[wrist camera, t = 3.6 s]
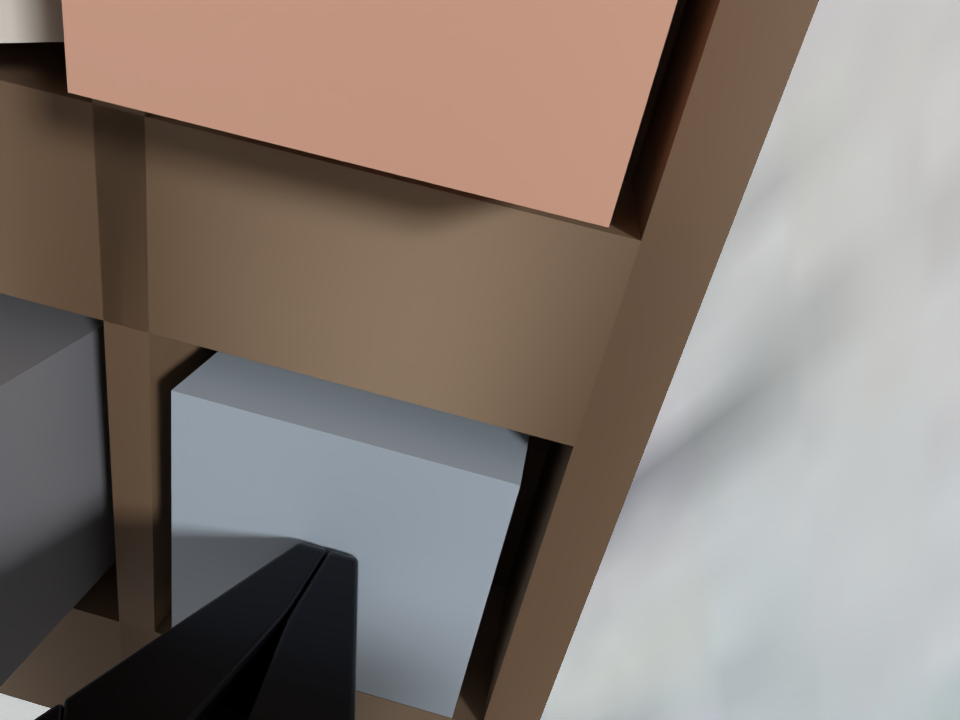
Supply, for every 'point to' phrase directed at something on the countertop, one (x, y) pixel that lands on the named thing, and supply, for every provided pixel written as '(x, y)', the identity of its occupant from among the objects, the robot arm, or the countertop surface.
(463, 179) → the peach block
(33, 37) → the key
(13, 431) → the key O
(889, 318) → the countertop surface
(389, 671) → the key
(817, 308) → the countertop surface
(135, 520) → the wooden sorting tray
